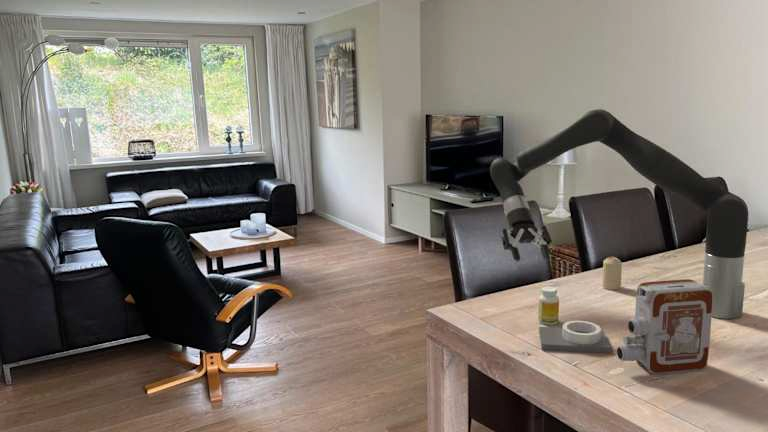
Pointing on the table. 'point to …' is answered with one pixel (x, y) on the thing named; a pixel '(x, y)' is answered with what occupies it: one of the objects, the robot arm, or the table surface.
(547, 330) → the mount plate
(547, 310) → the supplement bottle
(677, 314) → the cine camera
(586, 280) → the table surface
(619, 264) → the candle
